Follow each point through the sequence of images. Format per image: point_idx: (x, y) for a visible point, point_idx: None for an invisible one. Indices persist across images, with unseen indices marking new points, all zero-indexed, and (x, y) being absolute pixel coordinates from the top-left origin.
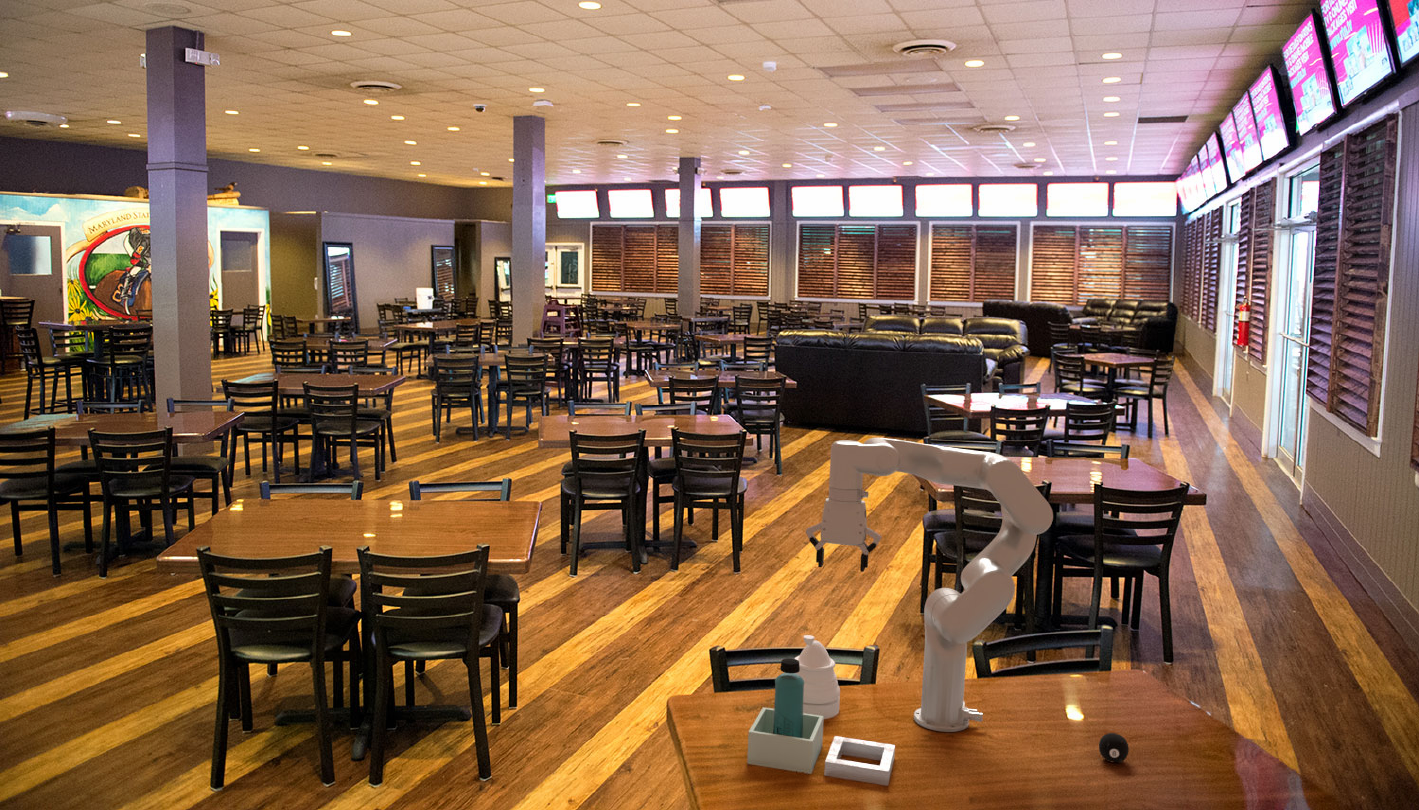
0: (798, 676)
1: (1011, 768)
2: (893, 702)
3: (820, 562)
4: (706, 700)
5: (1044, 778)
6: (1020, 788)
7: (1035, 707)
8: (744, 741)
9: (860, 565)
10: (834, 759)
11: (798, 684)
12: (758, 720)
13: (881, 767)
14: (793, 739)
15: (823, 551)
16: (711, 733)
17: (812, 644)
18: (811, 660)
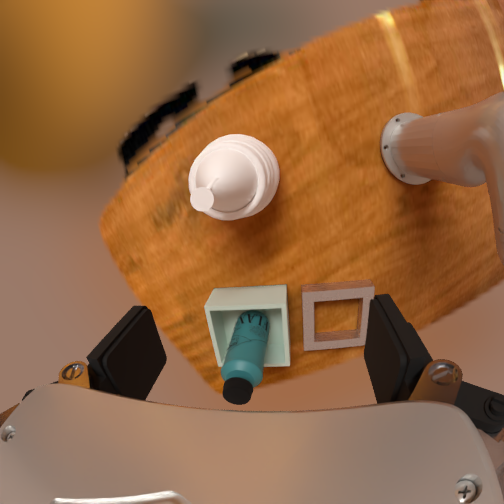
0: (252, 378)
1: (472, 249)
2: (343, 103)
3: (155, 376)
4: (119, 217)
5: (490, 257)
6: (471, 286)
7: (482, 77)
8: (201, 303)
9: (370, 378)
10: (312, 344)
11: (257, 384)
12: (215, 341)
13: (361, 340)
14: (268, 366)
15: (121, 373)
16: (164, 297)
17: (214, 194)
18: (225, 208)
